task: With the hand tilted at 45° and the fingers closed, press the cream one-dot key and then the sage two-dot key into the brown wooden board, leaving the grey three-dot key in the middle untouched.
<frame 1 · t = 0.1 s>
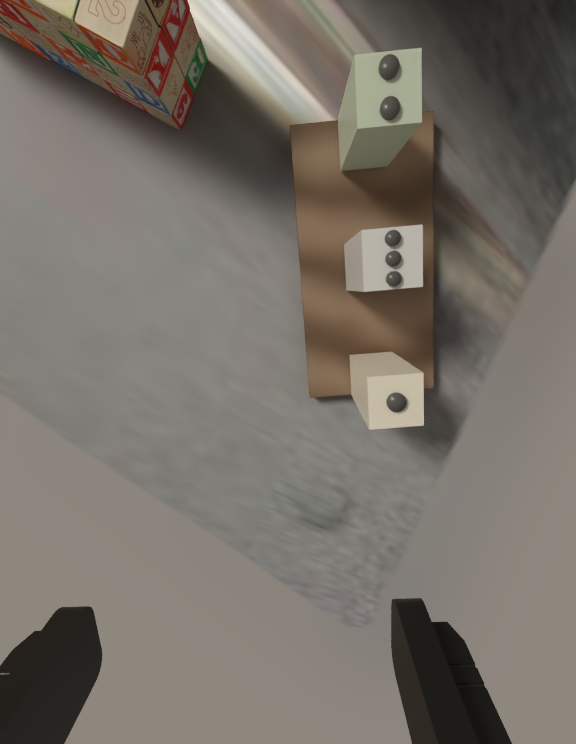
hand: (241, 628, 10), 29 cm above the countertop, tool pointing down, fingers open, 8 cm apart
stack of blocks: (82, 36, 33), on the countertop
brown wooden board: (363, 266, 36), on the countertop
two dot key: (374, 119, 28), point 6 cm above the countertop, slide at 0.0 cm
three dot key: (378, 262, 30), point 6 cm above the countertop, slide at 0.0 cm
one dot key: (382, 386, 32), point 6 cm above the countertop, slide at 0.0 cm
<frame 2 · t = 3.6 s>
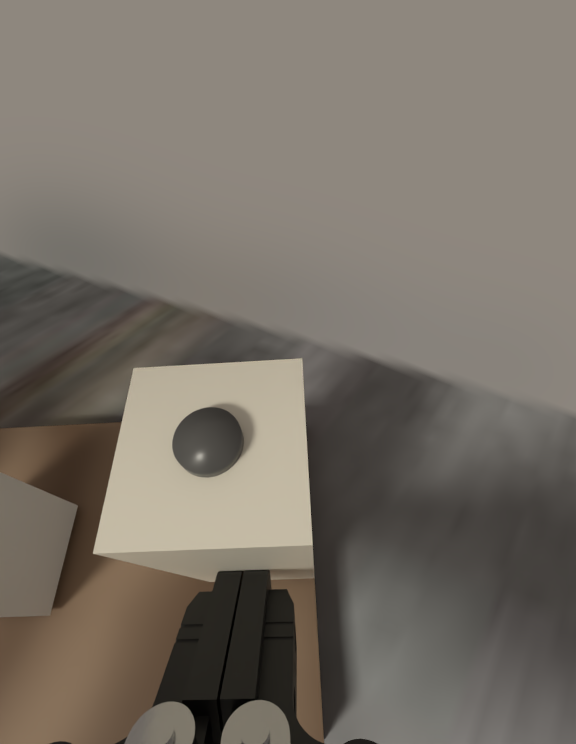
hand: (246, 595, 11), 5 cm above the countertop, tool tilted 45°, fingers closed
brown wooden board: (43, 563, 17), on the countertop
one dot key: (244, 496, 12), point 6 cm above the countertop, slide at 0.9 cm, touching gripper
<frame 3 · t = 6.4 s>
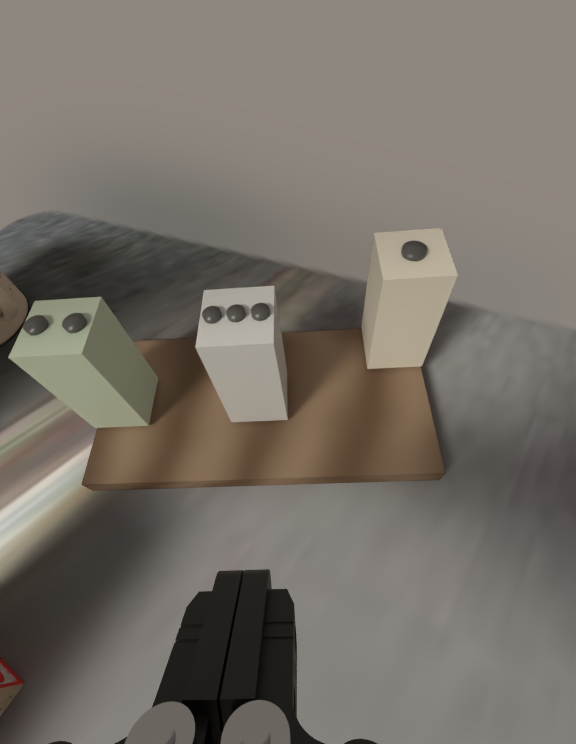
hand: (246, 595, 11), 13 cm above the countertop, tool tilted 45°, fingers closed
brown wooden board: (263, 407, 29), on the countertop
two dot key: (96, 368, 25), point 6 cm above the countertop, slide at 0.0 cm
three dot key: (249, 360, 24), point 6 cm above the countertop, slide at 0.0 cm
one dot key: (400, 304, 25), point 6 cm above the countertop, slide at 3.9 cm
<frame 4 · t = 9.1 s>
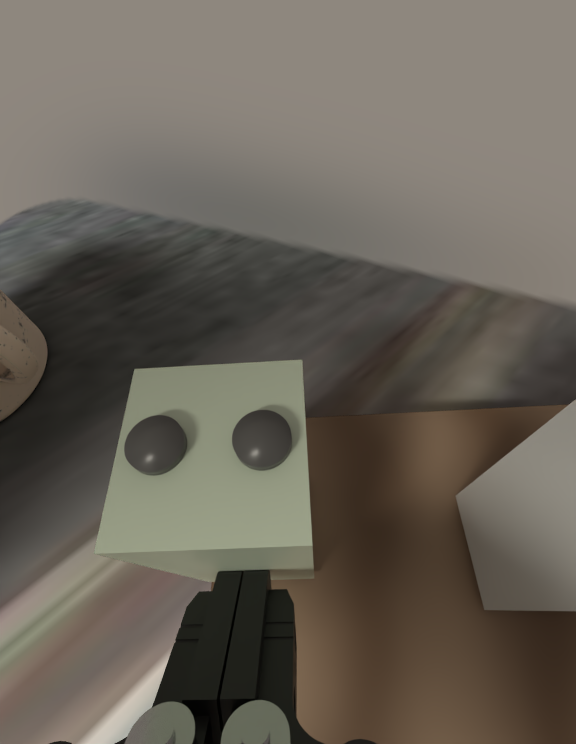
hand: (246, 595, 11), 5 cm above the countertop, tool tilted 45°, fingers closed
brown wooden board: (502, 552, 16), on the countertop
two dot key: (244, 496, 12), point 6 cm above the countertop, slide at 1.2 cm, touching gripper
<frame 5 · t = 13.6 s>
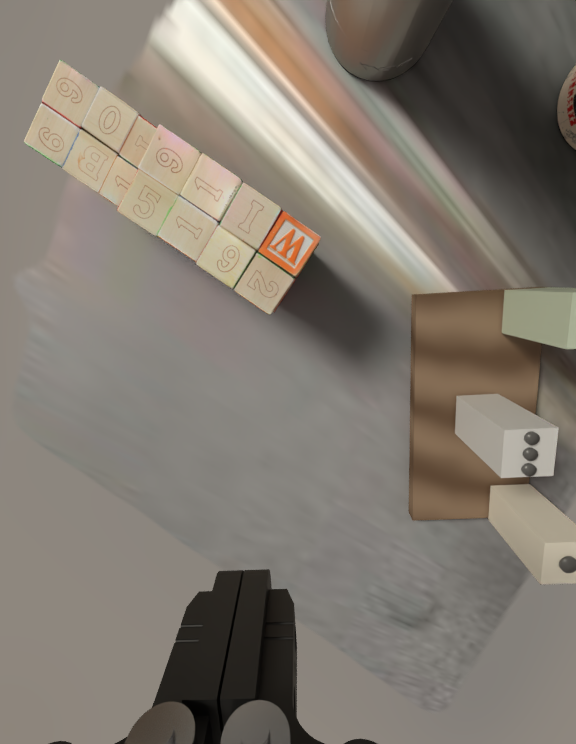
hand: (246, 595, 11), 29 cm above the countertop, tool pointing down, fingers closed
stack of blocks: (205, 215, 36), on the countertop
brown wooden board: (468, 408, 40), on the countertop
two dot key: (557, 314, 31), point 6 cm above the countertop, slide at 4.0 cm
three dot key: (500, 431, 33), point 6 cm above the countertop, slide at 0.0 cm
one dot key: (535, 529, 36), point 6 cm above the countertop, slide at 3.9 cm
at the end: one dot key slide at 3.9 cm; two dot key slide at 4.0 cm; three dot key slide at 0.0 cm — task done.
